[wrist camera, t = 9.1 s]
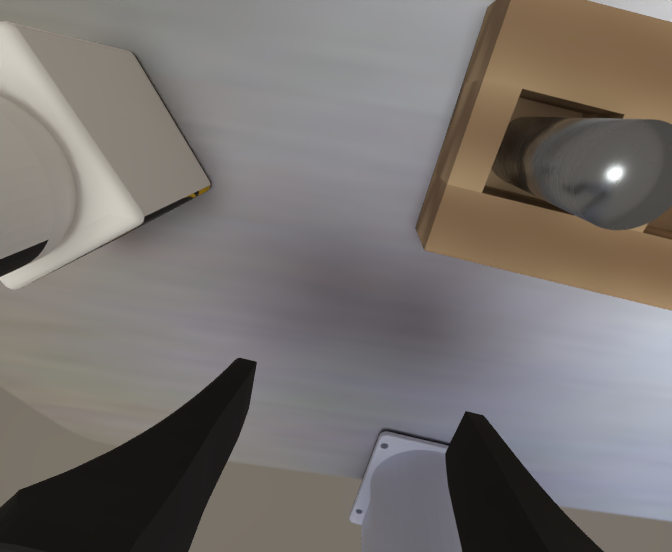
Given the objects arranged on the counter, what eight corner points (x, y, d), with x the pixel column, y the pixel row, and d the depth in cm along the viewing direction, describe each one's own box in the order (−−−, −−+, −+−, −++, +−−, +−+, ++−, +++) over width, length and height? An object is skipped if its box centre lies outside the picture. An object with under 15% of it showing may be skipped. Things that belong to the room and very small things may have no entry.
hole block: (667, 289, 21) (722, 322, 17) (415, 227, 20) (424, 250, 17) (800, 87, 16) (904, 82, 13) (487, 7, 16) (516, -18, 13)
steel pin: (545, 186, 18) (665, 235, 11) (482, 180, 19) (560, 225, 11) (564, 119, 17) (713, 124, 10) (497, 113, 17) (596, 114, 10)
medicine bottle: (114, 240, 22) (-138, 370, 11) (27, 120, 20) (-404, 134, 9) (215, 186, 20) (34, 278, 9) (133, 48, 18) (-237, -47, 7)
